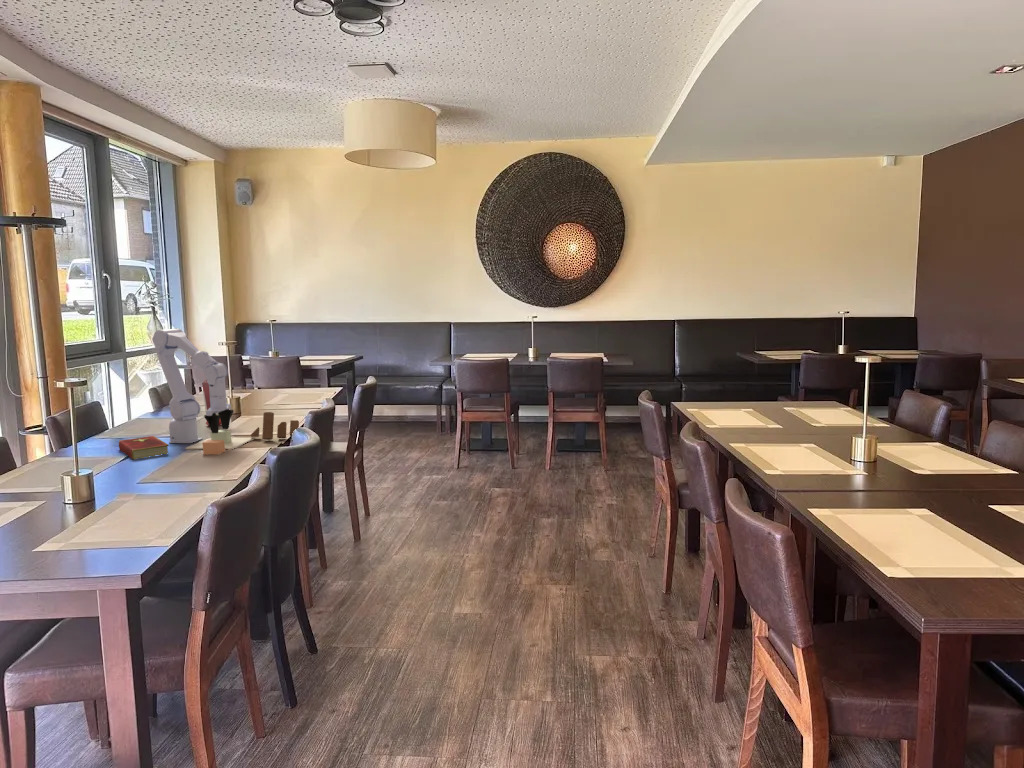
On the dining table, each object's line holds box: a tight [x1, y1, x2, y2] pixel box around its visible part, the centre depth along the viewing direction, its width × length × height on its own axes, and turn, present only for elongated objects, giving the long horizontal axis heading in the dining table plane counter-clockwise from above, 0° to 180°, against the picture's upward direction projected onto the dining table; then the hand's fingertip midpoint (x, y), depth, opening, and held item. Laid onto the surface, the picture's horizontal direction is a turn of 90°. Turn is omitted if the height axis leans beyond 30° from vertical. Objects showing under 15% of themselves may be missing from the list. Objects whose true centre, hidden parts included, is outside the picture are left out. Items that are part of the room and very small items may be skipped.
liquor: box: [201, 379, 222, 427], centre depth 298 cm, size 7×7×28 cm
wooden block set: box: [249, 411, 300, 441], centre depth 271 cm, size 18×9×10 cm, turn 103°
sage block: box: [209, 429, 232, 444], centre depth 263 cm, size 6×4×4 cm, turn 84°
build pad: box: [185, 436, 256, 451], centre depth 264 cm, size 18×18×1 cm
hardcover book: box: [118, 435, 170, 460], centre depth 253 cm, size 12×21×4 cm, turn 41°
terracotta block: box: [202, 440, 226, 455], centre depth 249 cm, size 6×4×4 cm, turn 84°
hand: (220, 430), depth 263 cm, fingers open, 7 cm apart
